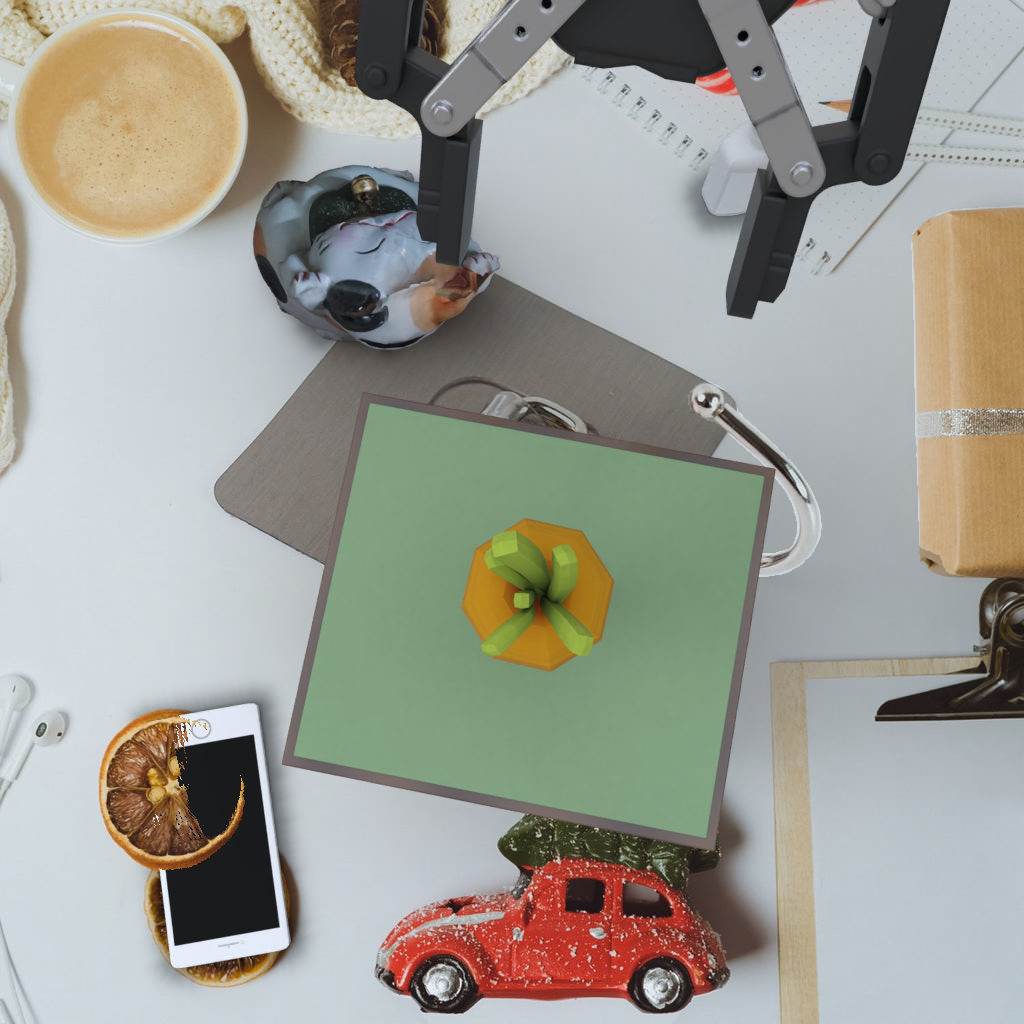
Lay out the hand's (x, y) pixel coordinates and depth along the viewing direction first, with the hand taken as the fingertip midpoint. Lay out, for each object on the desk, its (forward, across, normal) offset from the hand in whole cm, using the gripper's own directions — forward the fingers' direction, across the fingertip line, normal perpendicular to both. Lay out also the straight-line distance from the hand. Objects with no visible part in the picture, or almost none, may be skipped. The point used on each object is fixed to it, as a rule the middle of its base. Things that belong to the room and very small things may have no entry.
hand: (595, 281), depth 31 cm
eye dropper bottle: (+13, +9, +47) cm, 50 cm away
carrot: (+16, 0, +3) cm, 17 cm away
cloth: (+17, 0, +3) cm, 17 cm away
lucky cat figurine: (+20, -15, +40) cm, 47 cm away
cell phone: (+48, -18, +11) cm, 53 cm away
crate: (+36, 0, +23) cm, 43 cm away
